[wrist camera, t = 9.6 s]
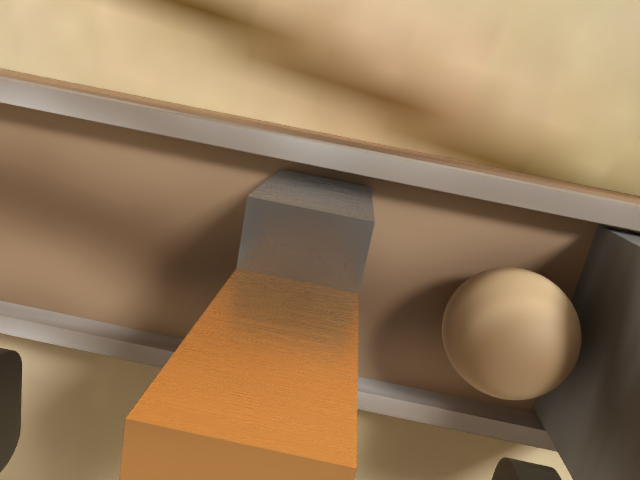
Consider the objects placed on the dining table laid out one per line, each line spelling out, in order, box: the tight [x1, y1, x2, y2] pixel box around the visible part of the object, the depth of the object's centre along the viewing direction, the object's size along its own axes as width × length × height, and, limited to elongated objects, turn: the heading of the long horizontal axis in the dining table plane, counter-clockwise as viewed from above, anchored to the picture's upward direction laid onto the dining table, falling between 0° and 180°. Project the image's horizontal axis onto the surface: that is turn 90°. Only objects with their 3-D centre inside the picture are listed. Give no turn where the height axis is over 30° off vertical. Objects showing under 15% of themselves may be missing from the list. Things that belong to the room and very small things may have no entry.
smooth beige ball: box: [442, 267, 582, 400], centre depth 16 cm, size 4×4×4 cm
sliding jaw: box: [119, 168, 375, 480], centre depth 12 cm, size 7×3×11 cm, turn 169°
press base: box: [0, 69, 640, 480], centre depth 16 cm, size 9×34×8 cm, turn 79°
